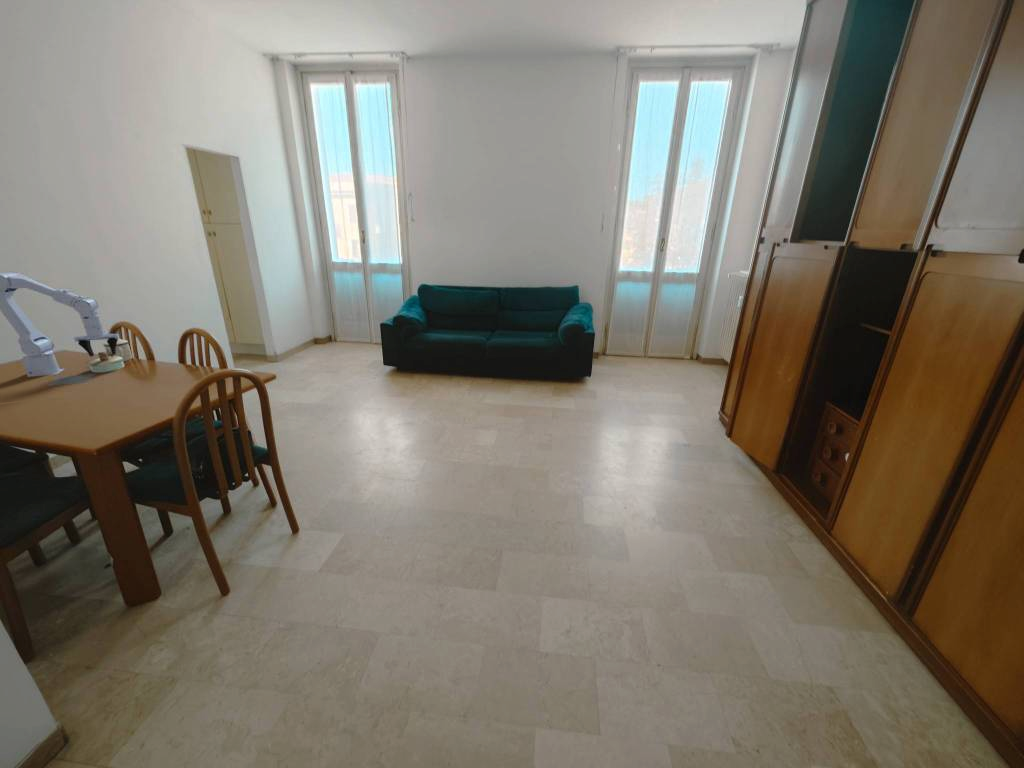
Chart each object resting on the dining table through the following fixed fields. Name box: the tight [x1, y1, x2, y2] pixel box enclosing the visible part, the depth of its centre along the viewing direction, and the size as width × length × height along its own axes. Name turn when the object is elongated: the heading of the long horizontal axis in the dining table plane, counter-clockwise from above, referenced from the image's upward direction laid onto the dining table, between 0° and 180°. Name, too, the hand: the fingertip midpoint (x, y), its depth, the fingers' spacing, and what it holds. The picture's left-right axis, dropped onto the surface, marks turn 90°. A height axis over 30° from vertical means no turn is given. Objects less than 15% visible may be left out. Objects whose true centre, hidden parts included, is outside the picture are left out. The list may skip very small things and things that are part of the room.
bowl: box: [89, 360, 125, 373], centre depth 186 cm, size 11×11×4 cm
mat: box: [46, 373, 97, 387], centre depth 172 cm, size 12×12×1 cm
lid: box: [86, 351, 123, 367], centre depth 184 cm, size 12×12×4 cm
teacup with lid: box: [103, 338, 134, 362], centre depth 197 cm, size 12×9×12 cm
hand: (103, 355), depth 184 cm, fingers open, 7 cm apart
